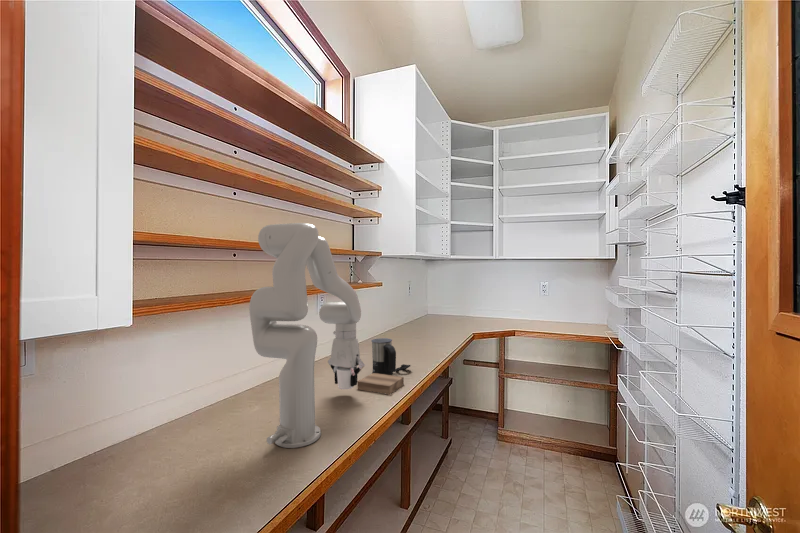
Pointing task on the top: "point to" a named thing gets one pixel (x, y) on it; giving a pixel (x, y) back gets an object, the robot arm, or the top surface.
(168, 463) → the top surface
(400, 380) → the walnut riser
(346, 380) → the white cup
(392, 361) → the milk frother
